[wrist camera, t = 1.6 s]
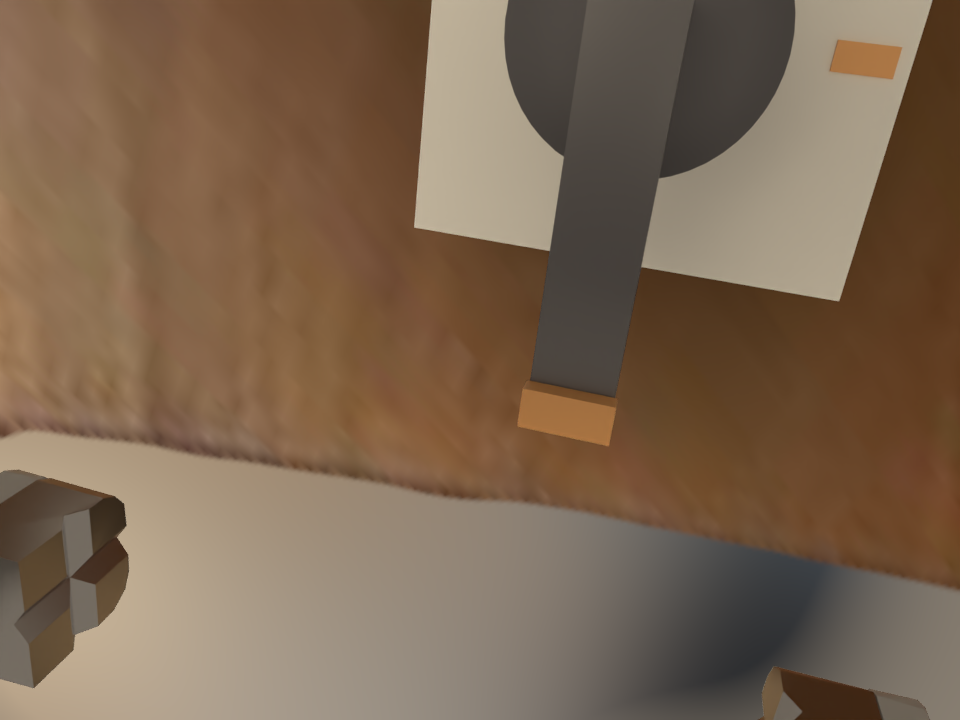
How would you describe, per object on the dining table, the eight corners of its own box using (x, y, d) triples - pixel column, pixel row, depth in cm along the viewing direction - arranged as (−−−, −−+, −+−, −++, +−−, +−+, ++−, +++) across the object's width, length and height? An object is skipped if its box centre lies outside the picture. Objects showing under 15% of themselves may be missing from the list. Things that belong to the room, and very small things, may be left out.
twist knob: (536, -129, 23) (480, -184, 17) (821, -103, 22) (871, -154, 16) (481, 330, 29) (425, 409, 23) (703, 373, 28) (707, 470, 22)
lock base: (463, -260, 33) (357, -395, 22) (992, -228, 29) (1158, -370, 19) (423, 220, 41) (331, 285, 30) (833, 291, 37) (888, 392, 27)
